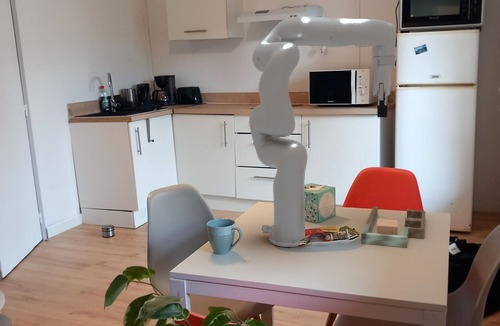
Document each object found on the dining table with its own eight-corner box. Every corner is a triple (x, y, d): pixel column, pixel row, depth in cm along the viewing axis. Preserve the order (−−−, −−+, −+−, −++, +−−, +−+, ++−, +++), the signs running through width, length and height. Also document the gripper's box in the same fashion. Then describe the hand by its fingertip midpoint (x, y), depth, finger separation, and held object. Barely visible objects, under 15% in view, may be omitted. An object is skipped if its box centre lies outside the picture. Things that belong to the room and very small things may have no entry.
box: (361, 243, 147) (361, 233, 146) (373, 214, 174) (373, 206, 174) (422, 249, 141) (423, 239, 140) (425, 218, 168) (425, 210, 167)
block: (376, 241, 148) (376, 225, 147) (377, 233, 155) (377, 218, 154) (397, 242, 147) (397, 226, 146) (397, 235, 153) (397, 219, 152)
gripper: (374, 62, 170) (373, 115, 174) (369, 62, 157) (368, 119, 160) (396, 61, 168) (395, 115, 171) (393, 61, 154) (391, 119, 158)
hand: (382, 117), depth 166 cm, fingers closed
